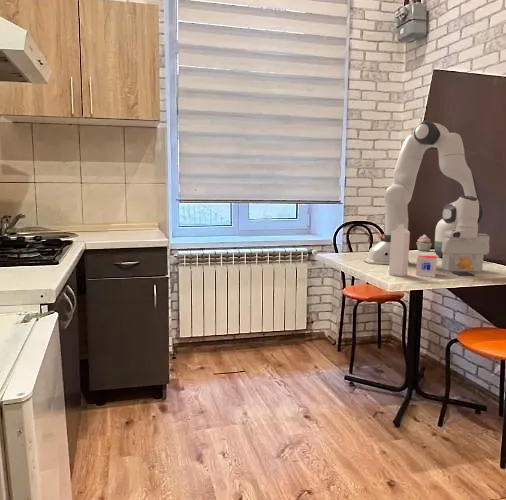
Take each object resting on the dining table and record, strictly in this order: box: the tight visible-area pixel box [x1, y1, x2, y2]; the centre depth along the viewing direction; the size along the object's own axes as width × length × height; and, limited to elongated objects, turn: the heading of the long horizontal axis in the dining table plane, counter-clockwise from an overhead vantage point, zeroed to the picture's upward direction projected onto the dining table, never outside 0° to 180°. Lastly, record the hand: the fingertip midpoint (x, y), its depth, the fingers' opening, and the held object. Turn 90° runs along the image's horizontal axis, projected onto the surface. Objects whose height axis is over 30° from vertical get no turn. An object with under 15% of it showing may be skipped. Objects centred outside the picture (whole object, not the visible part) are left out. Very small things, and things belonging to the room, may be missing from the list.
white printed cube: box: [415, 254, 438, 277], centre depth 217 cm, size 8×8×8 cm
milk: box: [388, 224, 411, 277], centre depth 214 cm, size 6×6×22 cm
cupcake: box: [415, 234, 433, 252], centre depth 298 cm, size 9×9×10 cm
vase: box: [434, 218, 457, 258], centre depth 270 cm, size 17×17×24 cm
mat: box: [451, 271, 475, 277], centre depth 219 cm, size 7×7×1 cm
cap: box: [455, 257, 474, 270], centre depth 219 cm, size 13×5×4 cm, turn 6°
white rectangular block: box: [441, 254, 484, 272], centre depth 231 cm, size 16×7×10 cm, turn 92°
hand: (464, 264), depth 219 cm, fingers closed on cap, 5 cm apart
